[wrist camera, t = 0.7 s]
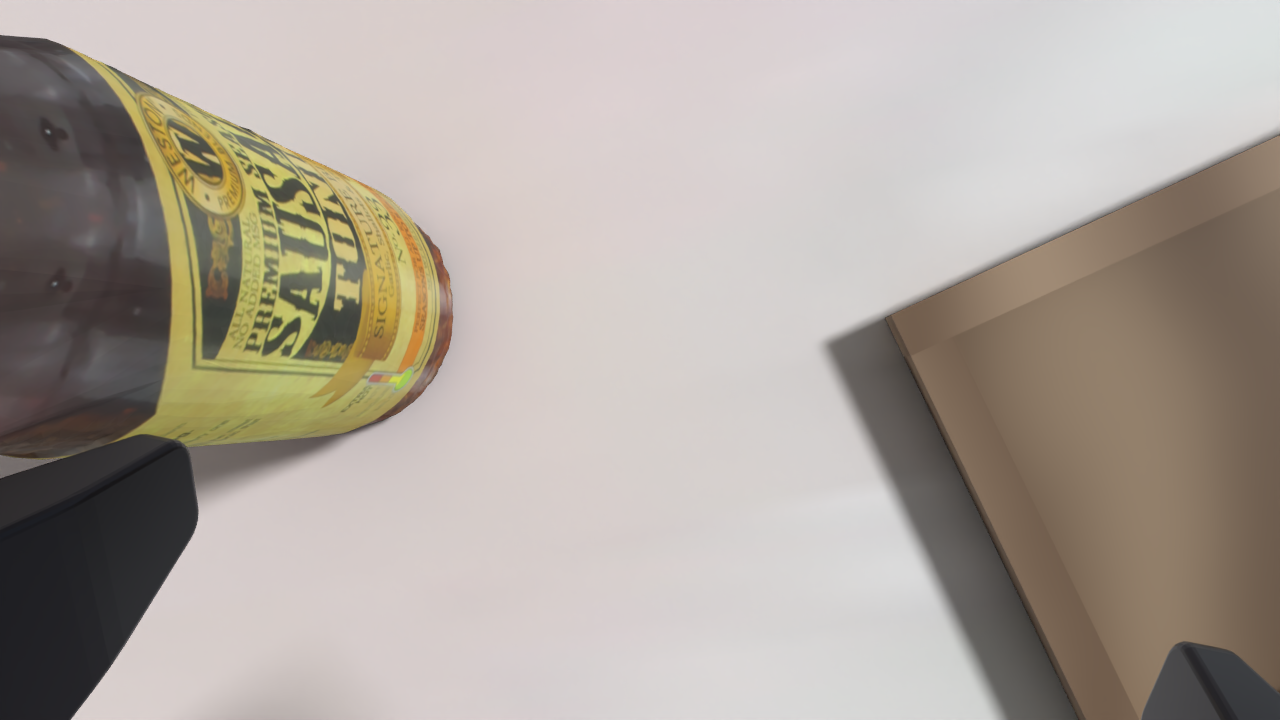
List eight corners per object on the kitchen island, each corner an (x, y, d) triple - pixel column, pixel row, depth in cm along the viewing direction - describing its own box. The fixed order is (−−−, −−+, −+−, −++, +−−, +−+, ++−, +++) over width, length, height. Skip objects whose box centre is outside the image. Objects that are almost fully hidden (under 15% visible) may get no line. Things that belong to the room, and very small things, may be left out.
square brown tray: (1113, 791, 23) (1135, 821, 22) (885, 317, 24) (891, 314, 22) (1655, 585, 21) (1720, 601, 20) (1391, 83, 22) (1434, 63, 21)
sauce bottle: (509, 359, 25) (-504, 356, 6) (302, 473, 26) (-1217, 823, 6) (392, 132, 26) (-928, -620, 6) (192, 251, 26) (-1543, -64, 7)
